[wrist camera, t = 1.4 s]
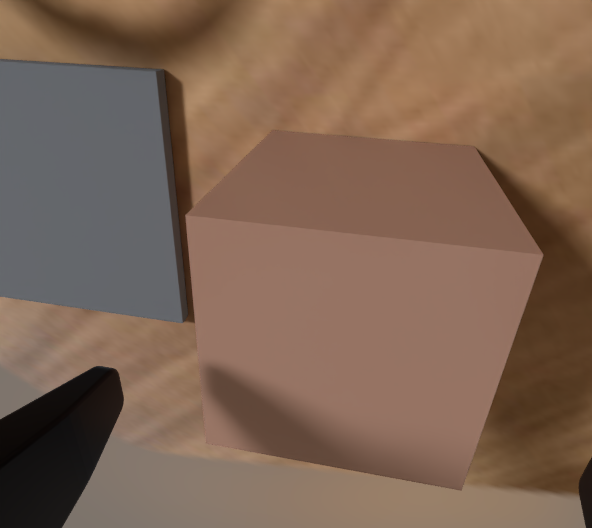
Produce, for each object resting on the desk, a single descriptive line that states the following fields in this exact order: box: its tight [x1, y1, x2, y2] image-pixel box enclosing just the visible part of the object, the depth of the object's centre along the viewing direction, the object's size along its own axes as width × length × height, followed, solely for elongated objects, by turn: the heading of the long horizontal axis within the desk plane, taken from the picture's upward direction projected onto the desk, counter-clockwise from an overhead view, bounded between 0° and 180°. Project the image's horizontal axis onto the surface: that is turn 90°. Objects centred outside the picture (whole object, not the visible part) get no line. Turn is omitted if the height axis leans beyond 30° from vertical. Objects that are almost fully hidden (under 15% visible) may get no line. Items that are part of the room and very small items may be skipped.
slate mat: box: [0, 59, 188, 323], centre depth 18 cm, size 10×10×1 cm
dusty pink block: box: [185, 130, 543, 490], centre depth 13 cm, size 7×7×8 cm
